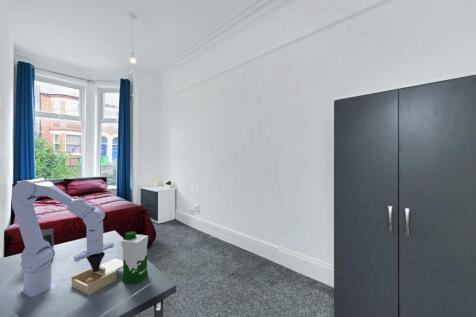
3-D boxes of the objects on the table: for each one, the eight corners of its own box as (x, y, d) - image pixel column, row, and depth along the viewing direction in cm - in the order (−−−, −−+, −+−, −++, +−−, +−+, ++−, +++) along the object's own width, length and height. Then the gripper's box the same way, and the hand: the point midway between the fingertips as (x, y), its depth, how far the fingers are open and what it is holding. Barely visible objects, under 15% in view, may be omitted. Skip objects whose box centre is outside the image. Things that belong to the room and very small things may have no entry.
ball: (83, 286, 86) (83, 279, 86) (91, 282, 89) (91, 275, 89) (87, 288, 85) (87, 281, 85) (95, 284, 88) (95, 277, 88)
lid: (90, 270, 92) (90, 264, 92) (115, 259, 102) (115, 254, 102) (104, 276, 88) (104, 270, 88) (128, 264, 97) (128, 258, 97)
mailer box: (71, 287, 87) (71, 276, 87) (99, 274, 96) (99, 264, 96) (88, 296, 81) (88, 284, 81) (116, 281, 91) (116, 270, 91)
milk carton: (133, 272, 97) (132, 229, 97) (151, 275, 96) (150, 230, 95) (118, 284, 89) (118, 236, 88) (138, 287, 87) (137, 238, 87)
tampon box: (30, 260, 110) (29, 231, 109) (54, 254, 115) (53, 227, 115) (26, 269, 101) (25, 238, 100) (52, 263, 106) (51, 233, 106)
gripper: (80, 247, 80) (81, 283, 81) (117, 234, 93) (118, 265, 94) (70, 243, 84) (71, 278, 84) (107, 231, 97) (108, 261, 97)
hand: (95, 271), depth 89 cm, fingers closed
